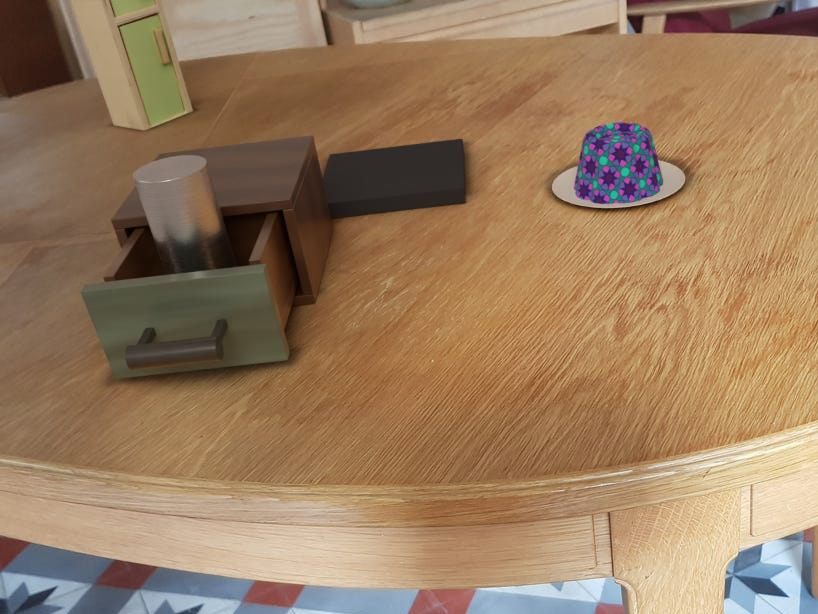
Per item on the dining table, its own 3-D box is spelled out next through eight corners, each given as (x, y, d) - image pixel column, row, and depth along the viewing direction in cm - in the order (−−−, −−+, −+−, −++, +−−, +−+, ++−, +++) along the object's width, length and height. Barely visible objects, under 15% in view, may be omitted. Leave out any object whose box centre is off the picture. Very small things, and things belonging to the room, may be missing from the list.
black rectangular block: (317, 220, 89) (314, 204, 88) (332, 168, 100) (329, 154, 99) (465, 203, 88) (464, 187, 87) (464, 152, 99) (462, 138, 98)
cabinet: (315, 303, 75) (290, 198, 70) (147, 322, 76) (110, 219, 70) (333, 229, 86) (313, 134, 81) (188, 246, 87) (158, 153, 82)
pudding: (696, 207, 81) (698, 146, 78) (557, 222, 82) (554, 162, 79) (672, 159, 91) (673, 103, 88) (547, 173, 92) (544, 118, 88)
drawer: (278, 393, 63) (252, 301, 59) (97, 412, 63) (58, 323, 59) (310, 275, 77) (291, 194, 73) (161, 292, 78) (133, 213, 73)
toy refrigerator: (149, 138, 116) (86, -56, 103) (113, 132, 120) (49, -56, 107) (199, 118, 120) (145, -71, 108) (164, 112, 124) (108, -70, 111)
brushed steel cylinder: (174, 332, 69) (123, 185, 62) (189, 300, 73) (143, 159, 66) (241, 324, 69) (197, 176, 62) (253, 293, 73) (212, 151, 66)
